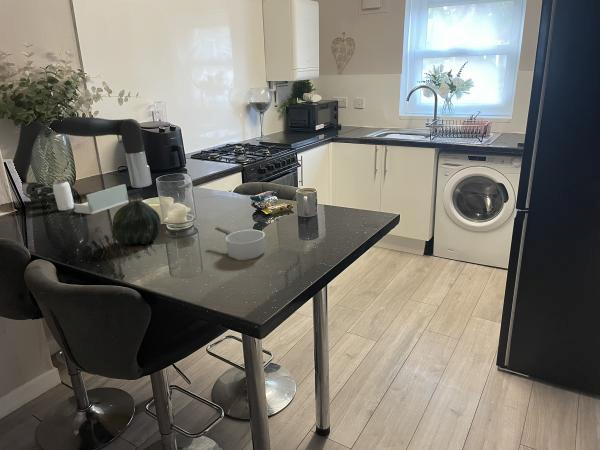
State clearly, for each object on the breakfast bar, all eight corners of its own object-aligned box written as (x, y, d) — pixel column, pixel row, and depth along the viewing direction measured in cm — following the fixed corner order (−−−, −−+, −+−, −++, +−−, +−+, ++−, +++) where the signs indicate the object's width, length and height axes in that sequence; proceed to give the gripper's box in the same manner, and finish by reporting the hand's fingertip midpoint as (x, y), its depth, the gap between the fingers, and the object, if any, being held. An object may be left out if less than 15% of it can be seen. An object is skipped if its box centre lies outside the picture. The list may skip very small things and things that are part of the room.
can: (70, 210, 194) (63, 183, 190) (55, 211, 194) (48, 183, 190) (77, 206, 200) (71, 179, 196) (63, 207, 200) (56, 180, 197)
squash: (112, 221, 153) (106, 195, 141) (158, 216, 158) (156, 190, 146) (116, 258, 147) (110, 234, 134) (164, 251, 152) (163, 227, 139)
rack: (112, 200, 206) (108, 183, 204) (128, 201, 201) (125, 184, 199) (74, 212, 191) (70, 193, 188) (91, 214, 185) (87, 195, 183)
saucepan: (233, 238, 145) (231, 222, 143) (275, 252, 131) (273, 234, 129) (203, 249, 138) (200, 232, 136) (243, 265, 124) (241, 246, 122)
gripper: (16, 186, 198) (38, 188, 190) (46, 178, 210) (68, 180, 202) (20, 202, 201) (42, 205, 193) (50, 194, 212) (72, 196, 204)
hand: (56, 192), depth 197 cm, fingers open, 8 cm apart
